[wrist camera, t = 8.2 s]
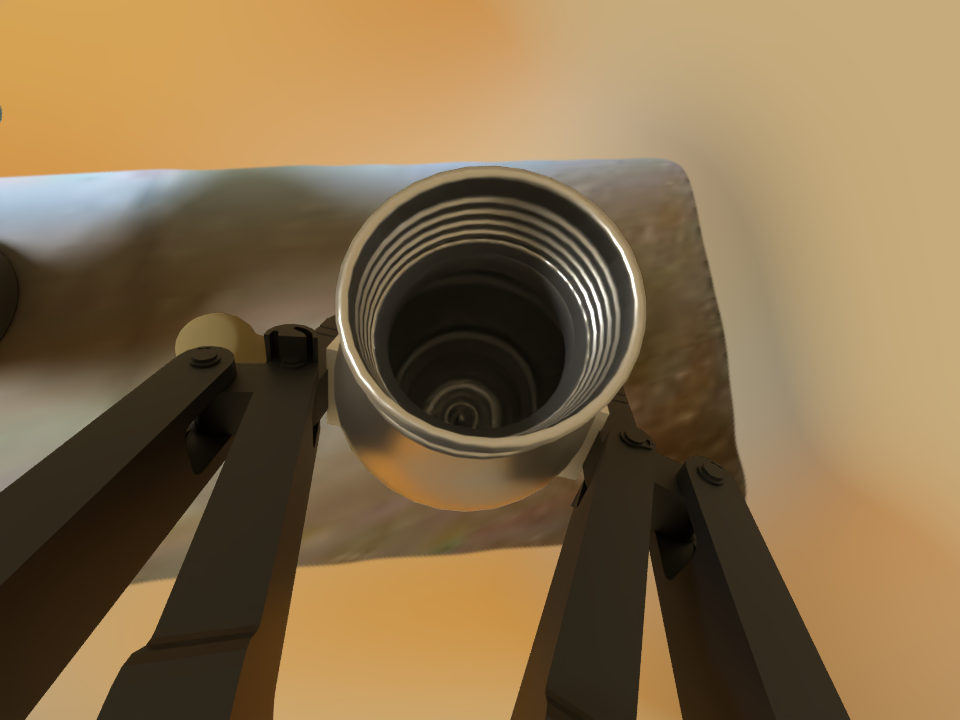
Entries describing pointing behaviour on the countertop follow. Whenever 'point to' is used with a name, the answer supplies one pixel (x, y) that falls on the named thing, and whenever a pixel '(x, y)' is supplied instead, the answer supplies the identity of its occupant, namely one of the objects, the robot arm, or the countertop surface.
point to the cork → (223, 337)
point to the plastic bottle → (482, 334)
